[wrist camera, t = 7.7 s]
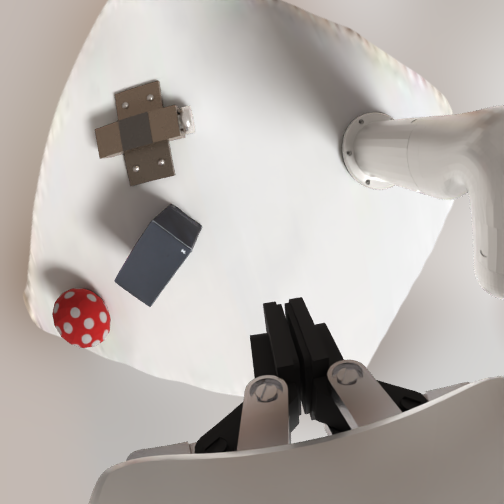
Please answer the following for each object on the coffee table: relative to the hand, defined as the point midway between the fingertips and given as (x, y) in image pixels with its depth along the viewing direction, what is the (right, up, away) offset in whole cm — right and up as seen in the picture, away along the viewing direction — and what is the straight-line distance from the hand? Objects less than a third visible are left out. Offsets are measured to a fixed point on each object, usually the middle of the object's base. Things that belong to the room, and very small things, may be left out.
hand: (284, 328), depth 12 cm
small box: (-15, +5, +31) cm, 35 cm away
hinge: (-17, +21, +25) cm, 37 cm away
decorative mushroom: (-33, -8, +35) cm, 49 cm away
